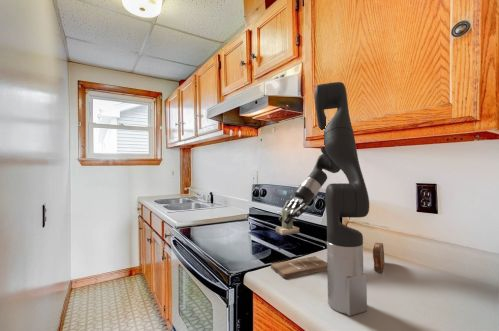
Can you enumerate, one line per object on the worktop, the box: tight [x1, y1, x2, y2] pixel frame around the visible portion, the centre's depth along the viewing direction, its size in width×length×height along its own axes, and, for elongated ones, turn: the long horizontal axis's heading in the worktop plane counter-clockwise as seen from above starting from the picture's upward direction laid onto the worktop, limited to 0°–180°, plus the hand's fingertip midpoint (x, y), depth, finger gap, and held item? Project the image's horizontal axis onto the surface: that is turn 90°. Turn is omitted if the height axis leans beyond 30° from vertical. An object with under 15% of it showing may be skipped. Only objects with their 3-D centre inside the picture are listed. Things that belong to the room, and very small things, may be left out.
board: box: [270, 256, 327, 280], centre depth 95 cm, size 10×20×2 cm, turn 112°
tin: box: [372, 242, 385, 273], centre depth 95 cm, size 15×3×8 cm, turn 149°
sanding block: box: [275, 209, 300, 236], centre depth 103 cm, size 5×8×9 cm, turn 112°
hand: (283, 221), depth 103 cm, fingers closed on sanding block, 3 cm apart
